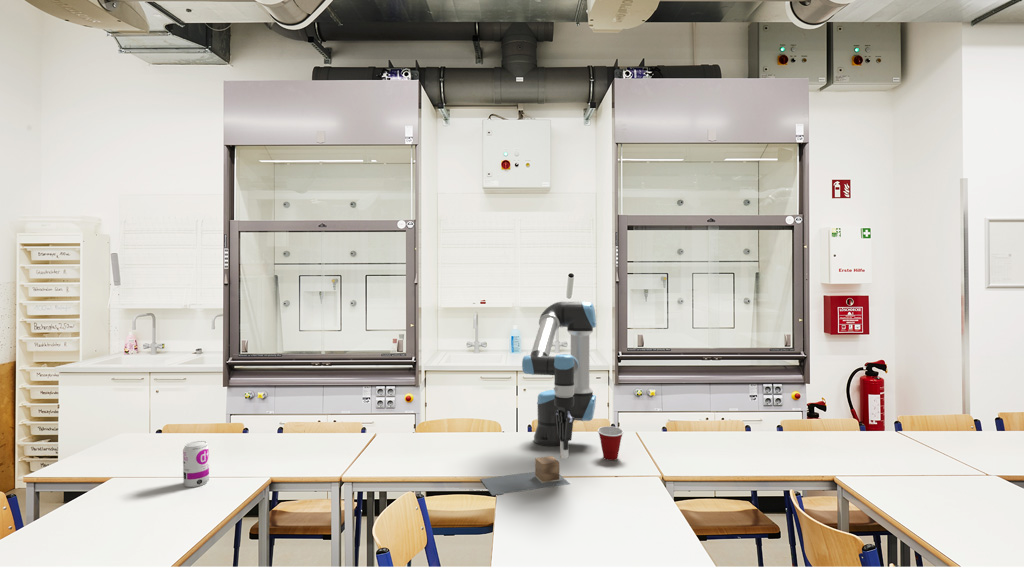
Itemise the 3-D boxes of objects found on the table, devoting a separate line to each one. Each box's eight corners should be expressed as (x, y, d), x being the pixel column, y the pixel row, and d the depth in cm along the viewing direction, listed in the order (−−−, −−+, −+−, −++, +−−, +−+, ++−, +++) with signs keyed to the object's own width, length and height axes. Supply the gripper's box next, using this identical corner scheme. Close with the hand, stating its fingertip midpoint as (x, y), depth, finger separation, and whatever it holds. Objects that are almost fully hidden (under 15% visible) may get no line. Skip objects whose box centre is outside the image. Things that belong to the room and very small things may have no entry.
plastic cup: (600, 462, 224) (600, 433, 224) (595, 454, 235) (595, 426, 234) (626, 462, 225) (626, 433, 224) (620, 453, 235) (619, 425, 235)
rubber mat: (553, 470, 216) (553, 469, 216) (570, 484, 201) (570, 484, 201) (480, 479, 207) (480, 478, 207) (492, 495, 191) (492, 494, 191)
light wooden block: (552, 474, 211) (552, 456, 211) (559, 480, 204) (559, 461, 204) (535, 476, 209) (535, 458, 209) (542, 482, 202) (541, 464, 202)
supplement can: (214, 481, 207) (213, 441, 207) (195, 489, 199) (194, 448, 199) (197, 478, 209) (197, 439, 209) (178, 486, 202) (177, 446, 201)
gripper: (548, 393, 213) (548, 453, 213) (562, 399, 201) (562, 463, 201) (566, 391, 216) (566, 451, 216) (580, 398, 203) (580, 461, 203)
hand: (564, 457), depth 208 cm, fingers closed
